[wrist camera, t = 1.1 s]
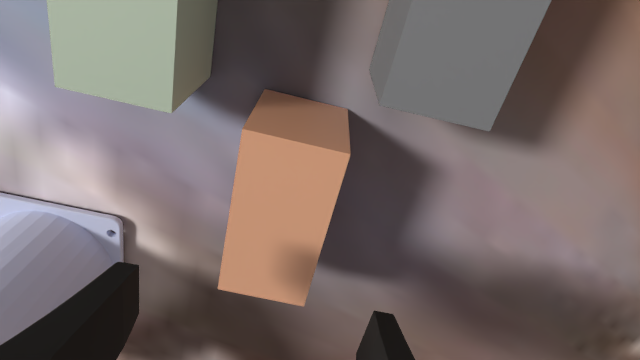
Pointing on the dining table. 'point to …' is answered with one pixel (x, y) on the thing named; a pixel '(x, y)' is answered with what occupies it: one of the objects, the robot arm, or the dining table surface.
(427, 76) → the charcoal block
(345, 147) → the terracotta block
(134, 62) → the sage block
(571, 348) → the dining table surface
